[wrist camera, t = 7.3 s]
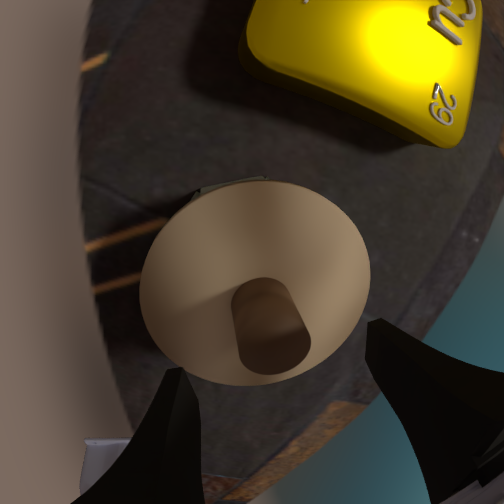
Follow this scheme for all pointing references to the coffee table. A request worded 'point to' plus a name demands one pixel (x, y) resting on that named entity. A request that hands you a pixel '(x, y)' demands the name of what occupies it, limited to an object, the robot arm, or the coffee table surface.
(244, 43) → the element tile
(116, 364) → the coffee table surface
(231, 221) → the lid
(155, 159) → the coffee table surface
